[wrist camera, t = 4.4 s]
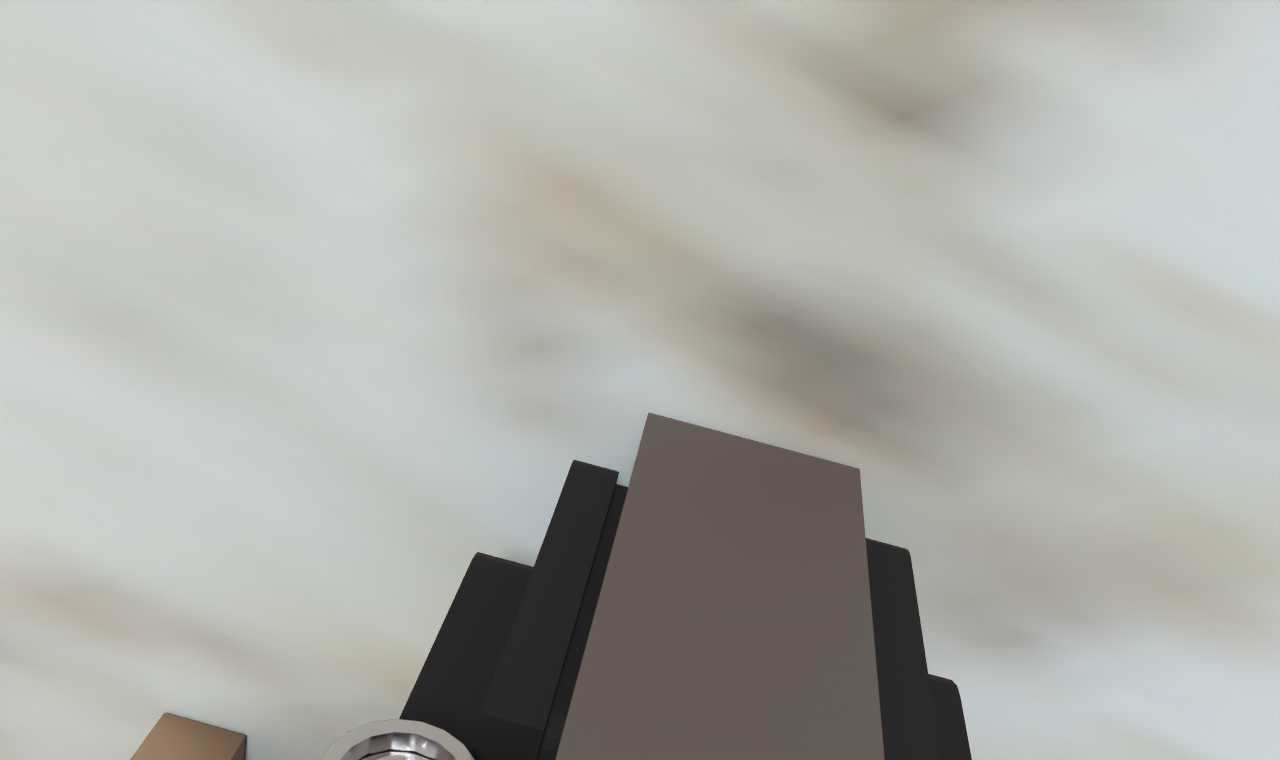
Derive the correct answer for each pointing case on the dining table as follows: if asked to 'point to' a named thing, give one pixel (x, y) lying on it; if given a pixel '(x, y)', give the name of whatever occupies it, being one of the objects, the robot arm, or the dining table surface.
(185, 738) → the frame
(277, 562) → the dining table surface
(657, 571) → the teal block
